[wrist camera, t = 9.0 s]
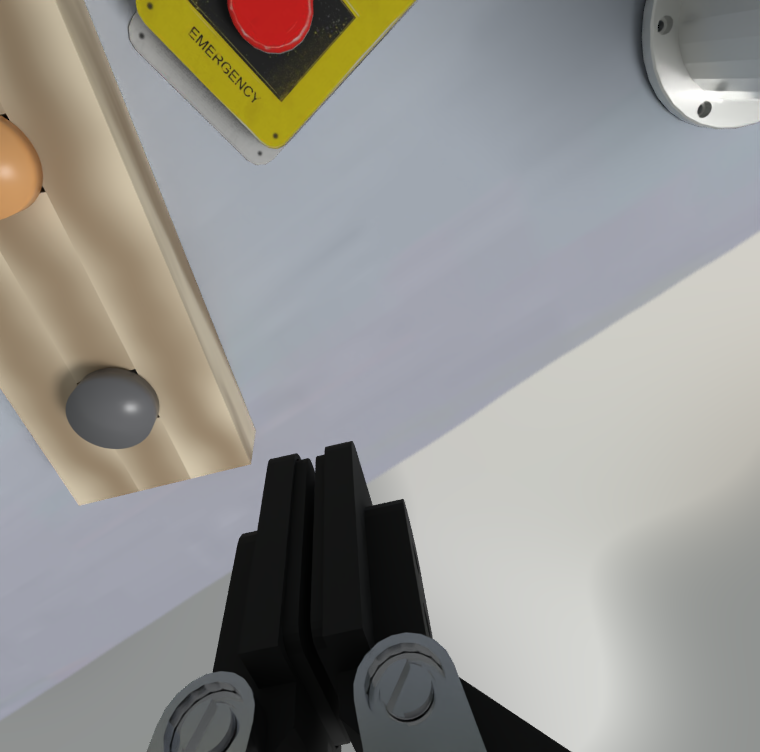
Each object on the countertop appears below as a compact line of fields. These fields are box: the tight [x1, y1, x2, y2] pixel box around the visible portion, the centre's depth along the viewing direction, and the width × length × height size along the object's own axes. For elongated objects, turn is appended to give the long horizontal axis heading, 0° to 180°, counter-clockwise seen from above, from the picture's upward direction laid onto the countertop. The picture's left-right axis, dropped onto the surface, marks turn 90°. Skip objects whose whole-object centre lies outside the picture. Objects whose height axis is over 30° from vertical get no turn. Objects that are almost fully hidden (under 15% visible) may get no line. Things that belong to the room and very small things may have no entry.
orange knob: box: [0, 115, 43, 220], centre depth 26 cm, size 5×5×6 cm
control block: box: [0, 0, 256, 506], centre depth 31 cm, size 12×28×4 cm, turn 12°
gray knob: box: [66, 368, 160, 449], centre depth 33 cm, size 5×5×6 cm
